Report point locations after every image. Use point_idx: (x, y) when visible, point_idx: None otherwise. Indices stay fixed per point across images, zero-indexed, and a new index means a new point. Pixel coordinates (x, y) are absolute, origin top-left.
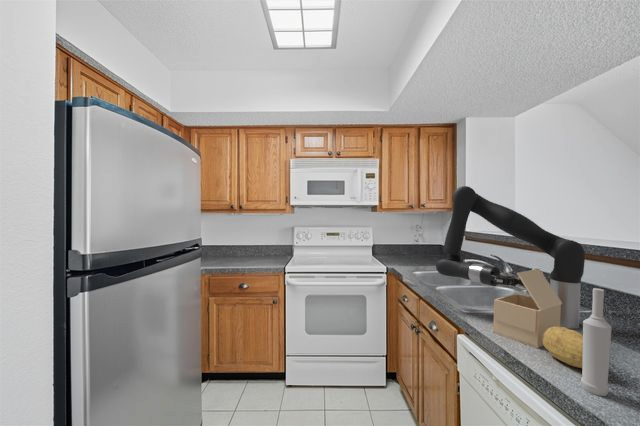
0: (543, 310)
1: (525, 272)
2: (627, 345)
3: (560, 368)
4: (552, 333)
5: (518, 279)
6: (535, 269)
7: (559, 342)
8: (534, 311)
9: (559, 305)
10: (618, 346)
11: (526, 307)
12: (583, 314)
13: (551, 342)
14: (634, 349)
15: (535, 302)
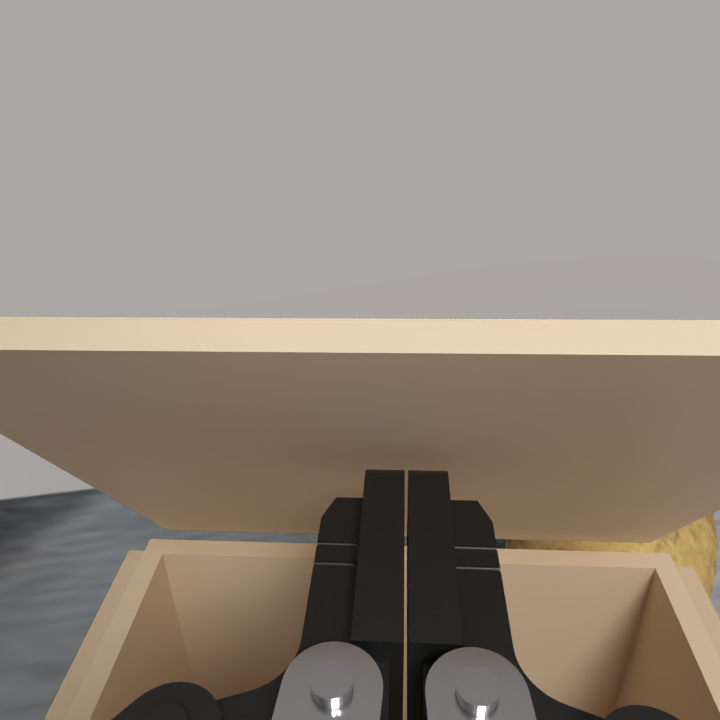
0: (554, 557)
1: (630, 335)
2: (40, 511)
3: (715, 591)
4: (695, 533)
5: (516, 682)
6: (61, 319)
7: (712, 513)
8: (696, 586)
9: (184, 548)
10: (91, 527)
11: (703, 666)
12: None
13: (713, 566)
14: (87, 489)
15: (684, 522)
